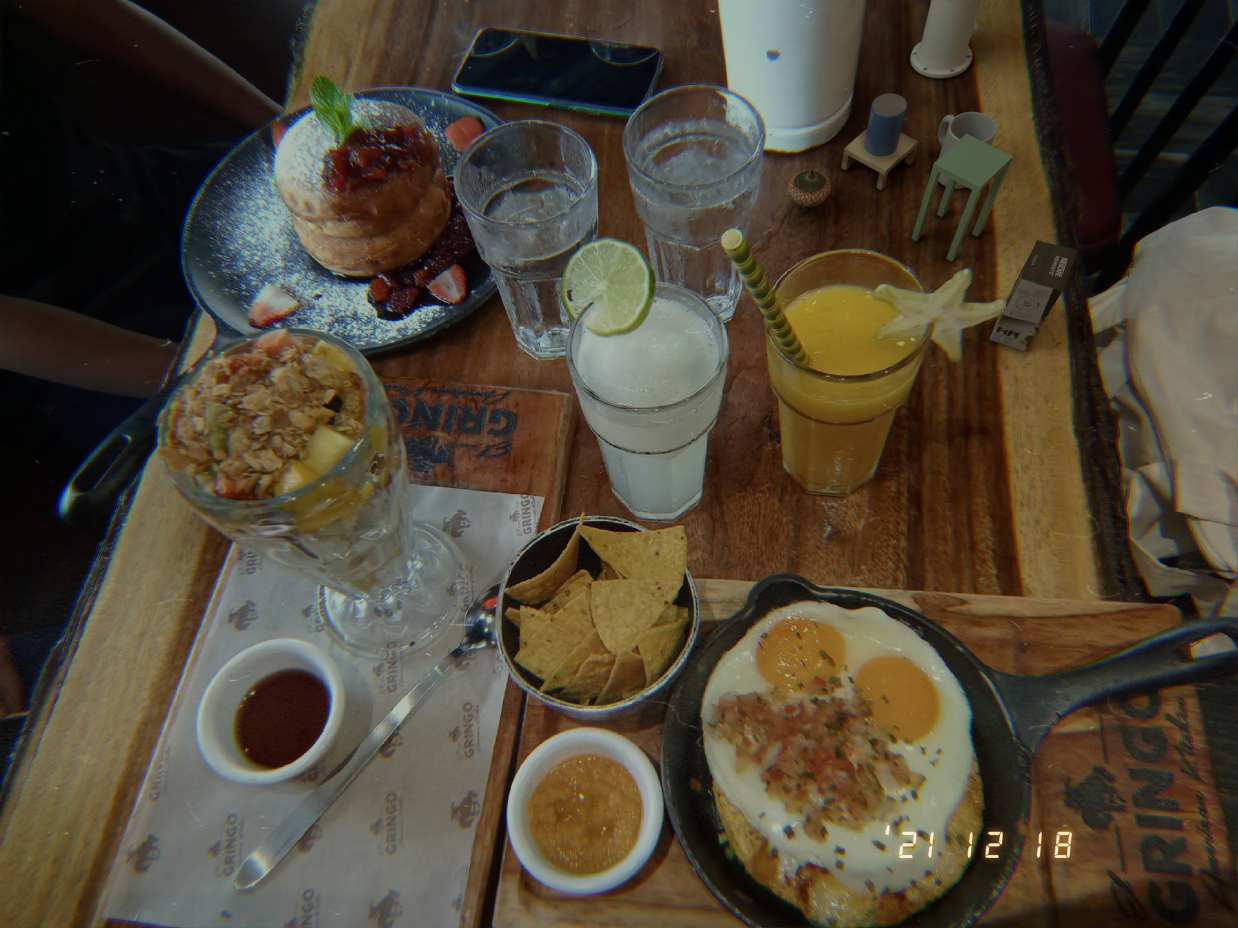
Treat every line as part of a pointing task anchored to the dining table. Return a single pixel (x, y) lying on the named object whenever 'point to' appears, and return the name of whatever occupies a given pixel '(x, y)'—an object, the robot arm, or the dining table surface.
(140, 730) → the dining table surface
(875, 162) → the low shelf
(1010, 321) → the coffee box
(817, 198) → the acorn
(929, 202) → the tall green stool
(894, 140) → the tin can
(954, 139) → the mug
